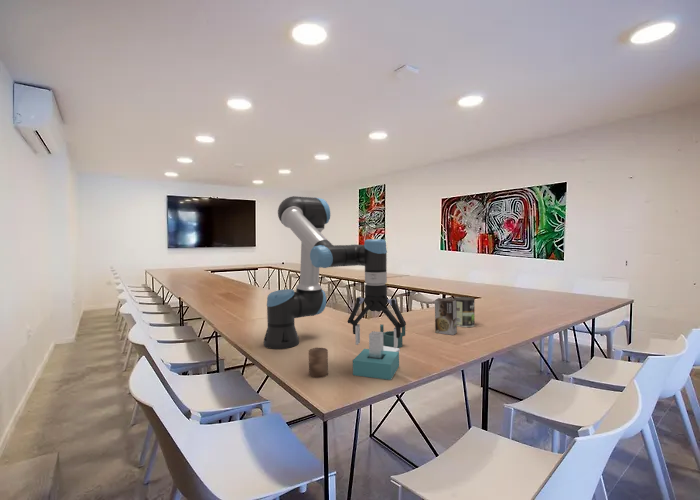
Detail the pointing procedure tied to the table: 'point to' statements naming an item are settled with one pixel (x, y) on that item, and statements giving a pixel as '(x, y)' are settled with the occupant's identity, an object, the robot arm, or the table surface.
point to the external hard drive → (390, 349)
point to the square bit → (376, 345)
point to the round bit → (318, 362)
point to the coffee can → (465, 311)
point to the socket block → (376, 365)
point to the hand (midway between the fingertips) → (376, 345)
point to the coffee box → (445, 316)
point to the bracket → (391, 337)
